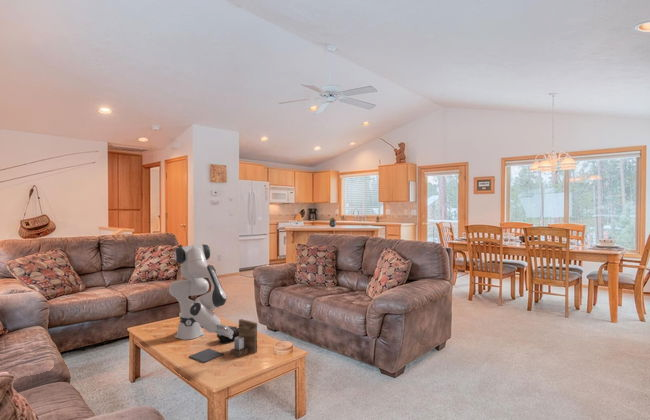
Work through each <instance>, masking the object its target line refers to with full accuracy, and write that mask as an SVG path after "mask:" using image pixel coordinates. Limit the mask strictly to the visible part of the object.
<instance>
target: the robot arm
mask: <svg viewBox="0 0 650 420" xmlns="http://www.w3.org/2000/svg"><path fill="white" fill-rule="evenodd" d="M210 257H211V248H210V246H209V245H208V244H191V245H187V246H185V245H184V246H178V247H176V249H175V250H174V253H173V258H174V260H175V262H176V263H177V264H180V274H181V276H182V277H183V278H185V279H180V280H176V281H173V282H171V283H170V284H169V286H168V292H169V294H170V295H171V296H172V297H174V298H175V299H176V301H177V302H178V303H179V308H180V317H179V324H178V325H177V333H176V334H174V338H175V339H180V340H184V341H185V340H192V339H197V338H199V337H202V336H204V335H205V333H204V331H203V329H204V330H205V331H207V332H208V333H214V334H216V335H217V334H218V335H220V336H221V335H223V336H226V337H228V338H230V339H232V338H233V336H232V335H233V333H234V332H233V331H232V330H231V329H230V328H229V327H227V325H225V324H222V323H221V318H219V317H218V316H217V315H216V314H215V313H213V312H212V310H215V309H217V308H219V307H222V306H224V305H225V304H226V302H227V299H228V296H227V294H226V292H225V290H224V289H223V287H222V285H221V282H220V280H219V277H218V275H217V273H216V270H215V269H214V268H213V266H211V265H208V262H207V261H208V260H209V259H210ZM206 278H207V279H208V280H209V282H208V280H207V279H206ZM209 283H210V284H209ZM210 285H211V288H212V289H211V291H209V290H210ZM199 295H201V296H199ZM191 296H199V297H197V298H195V300H192V299H190V298H189V297H191Z"/></svg>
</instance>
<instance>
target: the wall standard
mask: <svg viewBox="0 0 650 420" xmlns="http://www.w3.org/2000/svg"><path fill="white" fill-rule="evenodd" d="M238 328H239V336H241V337H244V350H242V351H236V350H234V348H232V349H230V355H231V356H233V357H237V358H240V357H243V356H245V355H248V353H252V354H257V353H258V322H254V321H250V320H247V319H243V318H240V319H238Z"/></svg>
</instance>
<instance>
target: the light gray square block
mask: <svg viewBox="0 0 650 420" xmlns="http://www.w3.org/2000/svg"><path fill="white" fill-rule="evenodd" d="M233 342H234V348H233V349H234V350H236V351H242V350H244V337H241V336H238V337H236V338H234V341H233Z"/></svg>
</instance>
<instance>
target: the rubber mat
mask: <svg viewBox="0 0 650 420" xmlns="http://www.w3.org/2000/svg"><path fill="white" fill-rule="evenodd" d="M223 356H224V353H223V352H220V351H217V350H215V349H213V348H212V349H211V348H210V347H209V348H206V349H204V350H201V351H198V352H196V353H193V354H191V355H189V356H188V358H189V359H193V360H195V361H198V362H200V363H203V364H206V363H207V362H208V363H209V361H213V360H215V359H217V358H220V357H223Z"/></svg>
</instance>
